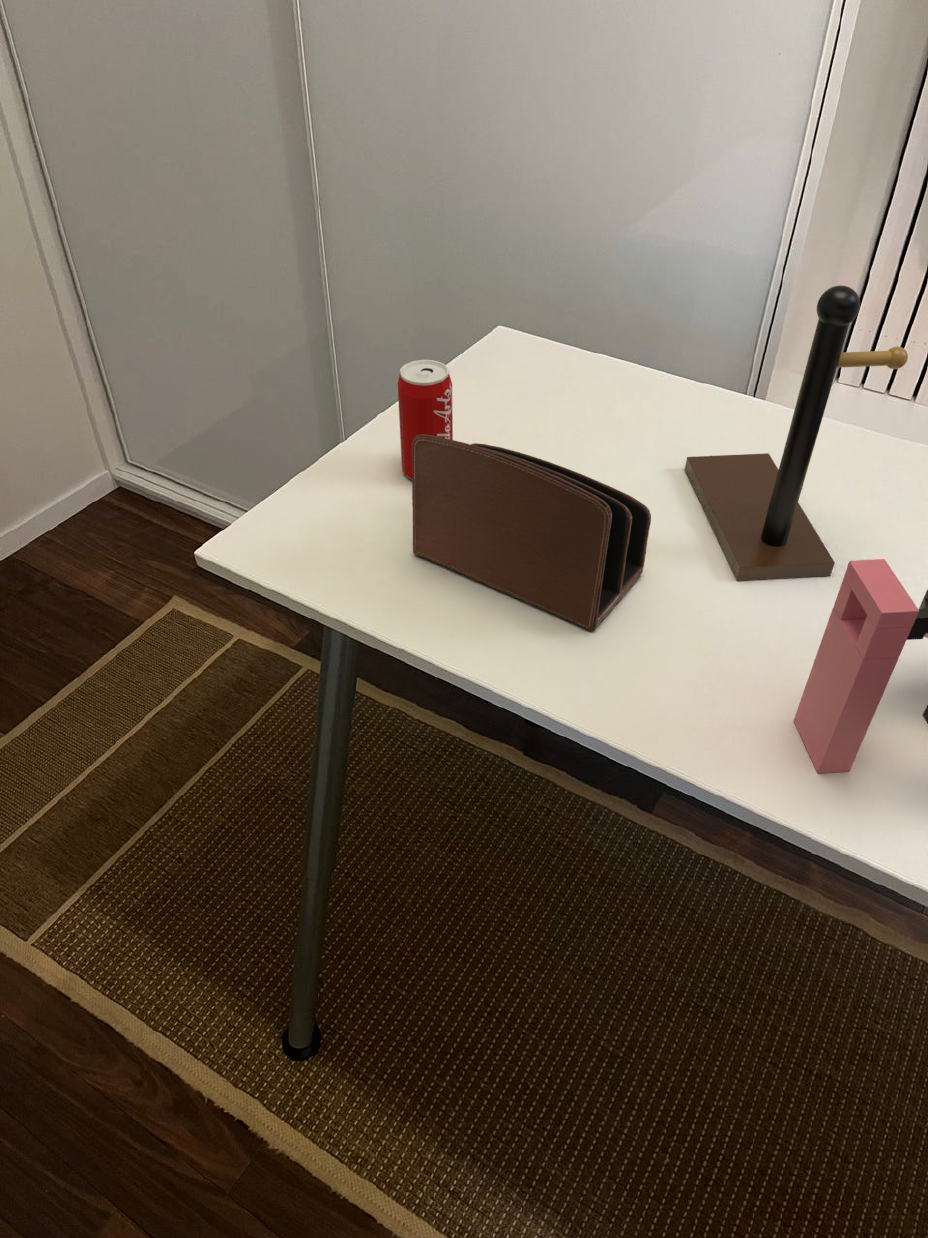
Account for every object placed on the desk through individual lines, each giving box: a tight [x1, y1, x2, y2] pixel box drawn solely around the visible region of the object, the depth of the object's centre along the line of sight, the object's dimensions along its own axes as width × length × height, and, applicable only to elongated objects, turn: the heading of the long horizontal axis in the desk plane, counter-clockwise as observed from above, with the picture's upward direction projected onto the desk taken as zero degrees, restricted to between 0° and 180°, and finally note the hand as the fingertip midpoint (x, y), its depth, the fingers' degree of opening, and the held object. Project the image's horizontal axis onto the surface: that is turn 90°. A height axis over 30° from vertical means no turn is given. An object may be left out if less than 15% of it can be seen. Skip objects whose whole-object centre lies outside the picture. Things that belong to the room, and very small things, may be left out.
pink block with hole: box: [793, 558, 919, 774], centre depth 67 cm, size 2×5×16 cm, turn 5°
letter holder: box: [411, 434, 652, 633], centre depth 85 cm, size 10×20×14 cm, turn 56°
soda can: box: [397, 359, 454, 480], centre depth 97 cm, size 6×6×12 cm
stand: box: [684, 285, 909, 582], centre depth 86 cm, size 12×19×26 cm, turn 5°
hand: (902, 668), depth 68 cm, fingers open, 8 cm apart
